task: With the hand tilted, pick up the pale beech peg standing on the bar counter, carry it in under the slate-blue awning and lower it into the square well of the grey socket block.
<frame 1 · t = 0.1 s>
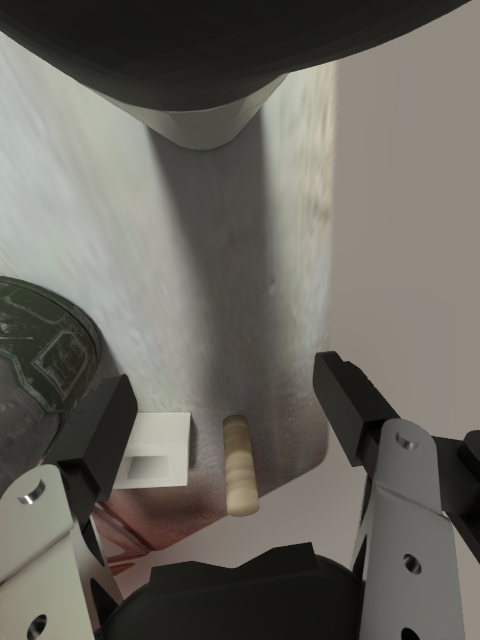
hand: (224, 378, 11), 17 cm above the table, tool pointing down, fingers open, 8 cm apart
canister: (30, 335, 28), on the table
peg: (235, 422, 40), on the table
kiosk: (153, 435, 40), on the table
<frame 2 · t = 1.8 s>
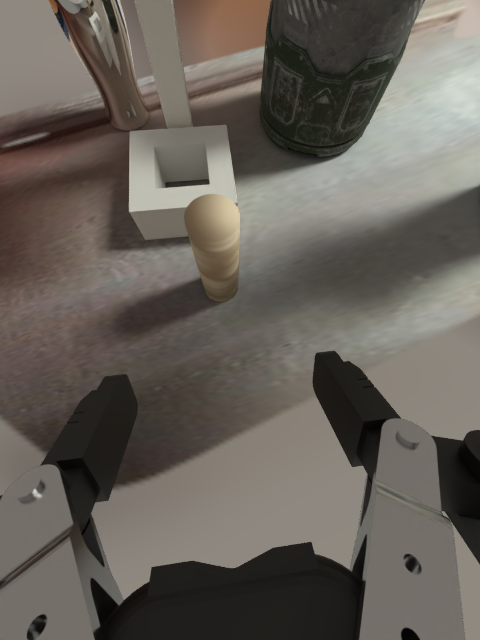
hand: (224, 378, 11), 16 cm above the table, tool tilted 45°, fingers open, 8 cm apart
canister: (310, 122, 37), on the table
peg: (221, 286, 29), on the table
kiosk: (189, 198, 32), on the table
beer glass: (129, 117, 37), on the table
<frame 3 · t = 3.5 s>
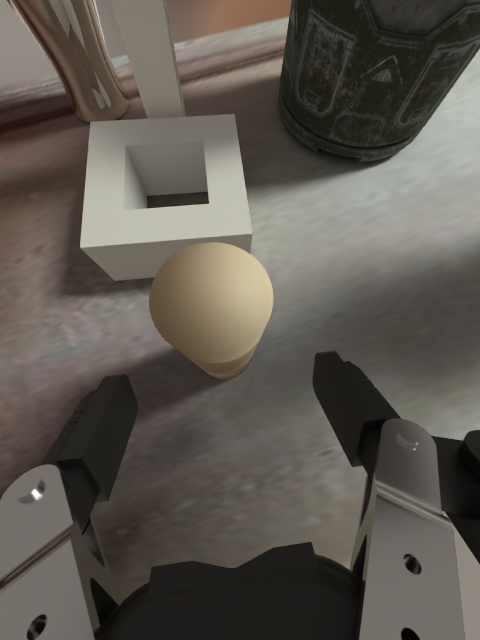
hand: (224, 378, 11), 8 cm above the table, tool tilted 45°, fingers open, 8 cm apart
canister: (345, 115, 28), on the table
peg: (224, 353, 19), on the table
kiosk: (179, 219, 23), on the table
beer glass: (102, 106, 27), on the table
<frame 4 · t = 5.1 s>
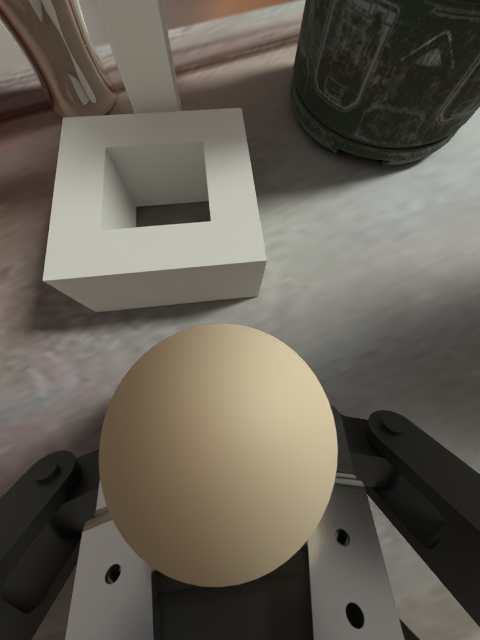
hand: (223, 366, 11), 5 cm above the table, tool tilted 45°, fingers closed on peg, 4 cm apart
canister: (367, 110, 24), on the table
peg: (230, 405, 16), on the table, touching gripper
kiosk: (175, 235, 19), on the table
beer glass: (85, 101, 23), on the table
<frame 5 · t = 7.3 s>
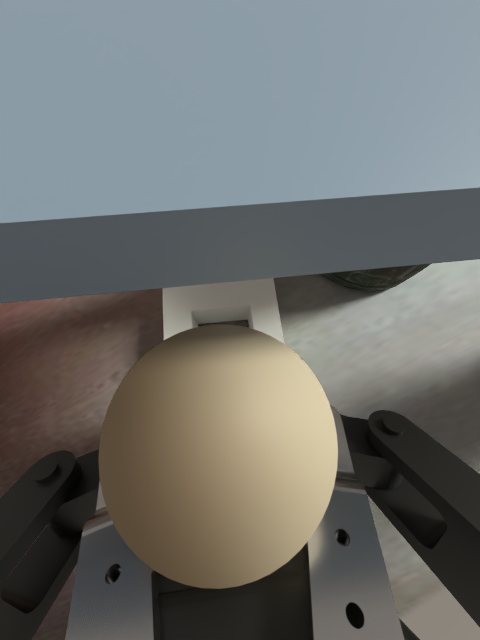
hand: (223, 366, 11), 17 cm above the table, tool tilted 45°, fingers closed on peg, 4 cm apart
canister: (356, 241, 33), on the table
peg: (230, 405, 16), point 12 cm above the table, touching gripper
kiosk: (225, 346, 29), on the table
when the fingers open (7 cm above the table, at t = 9.8 s): peg drops 2 cm, resting in kiosk.
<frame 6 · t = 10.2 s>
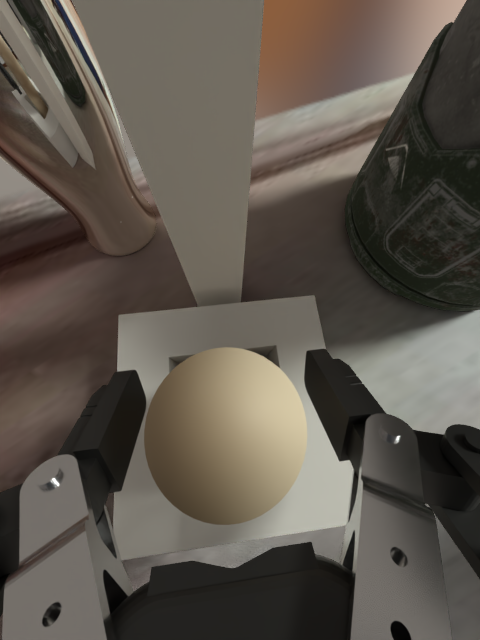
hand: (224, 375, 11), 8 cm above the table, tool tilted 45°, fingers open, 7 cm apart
canister: (424, 234, 22), on the table
peg: (231, 405, 18), resting in kiosk
kiosk: (230, 404, 18), on the table
beer glass: (123, 227, 22), on the table
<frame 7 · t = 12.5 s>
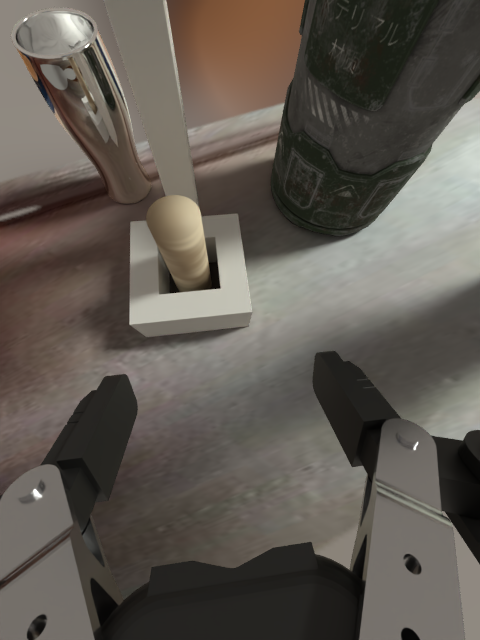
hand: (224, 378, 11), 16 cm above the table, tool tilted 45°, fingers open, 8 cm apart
canister: (324, 193, 35), on the table
peg: (195, 286, 30), resting in kiosk
kiosk: (194, 285, 30), on the table
beer glass: (129, 187, 34), on the table
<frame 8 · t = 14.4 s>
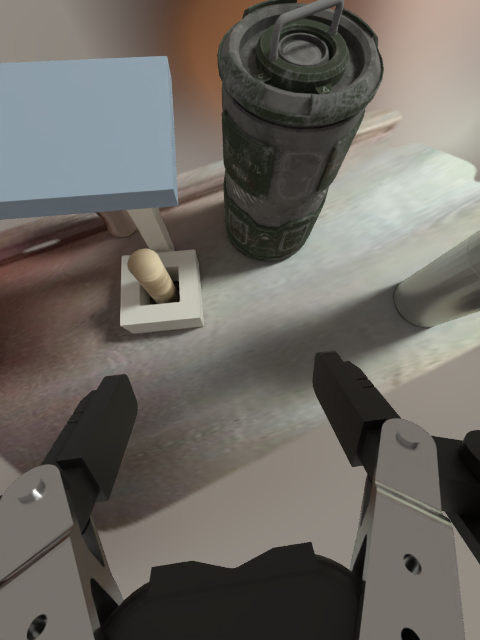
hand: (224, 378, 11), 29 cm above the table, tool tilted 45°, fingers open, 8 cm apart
canister: (266, 227, 47), on the table
peg: (168, 298, 42), resting in kiosk
kiosk: (167, 297, 42), on the table
beer glass: (123, 224, 46), on the table
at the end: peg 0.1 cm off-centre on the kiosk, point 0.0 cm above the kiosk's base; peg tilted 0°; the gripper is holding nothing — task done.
